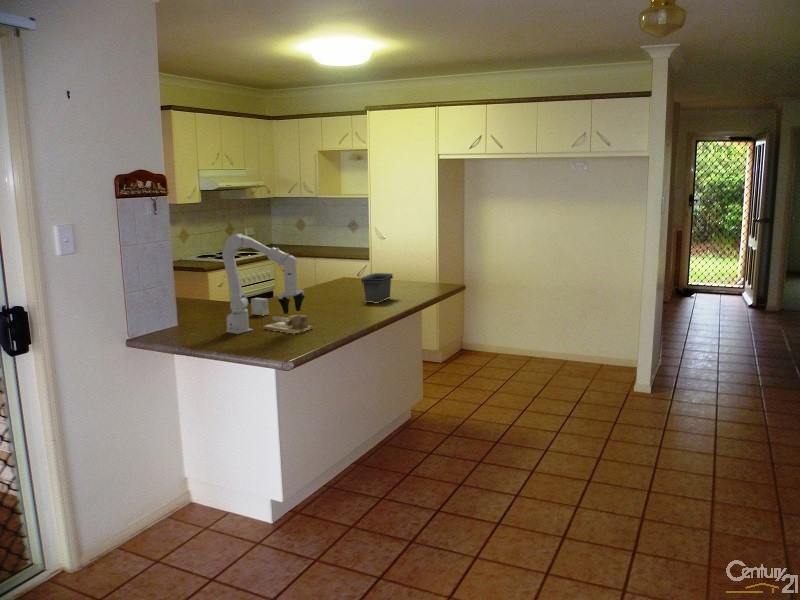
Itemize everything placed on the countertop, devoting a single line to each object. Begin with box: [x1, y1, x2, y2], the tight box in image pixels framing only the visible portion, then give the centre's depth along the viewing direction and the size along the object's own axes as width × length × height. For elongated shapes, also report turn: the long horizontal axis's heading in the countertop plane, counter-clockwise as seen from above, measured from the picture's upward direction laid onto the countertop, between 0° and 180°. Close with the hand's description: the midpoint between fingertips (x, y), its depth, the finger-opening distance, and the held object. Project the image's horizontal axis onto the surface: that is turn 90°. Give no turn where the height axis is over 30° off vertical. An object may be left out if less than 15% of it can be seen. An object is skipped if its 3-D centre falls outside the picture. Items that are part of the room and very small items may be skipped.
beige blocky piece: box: [262, 315, 314, 335], centre depth 308 cm, size 12×20×7 cm, turn 54°
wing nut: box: [285, 314, 302, 328], centre depth 305 cm, size 11×3×5 cm, turn 144°
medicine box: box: [250, 297, 270, 317], centre depth 341 cm, size 8×4×9 cm, turn 59°
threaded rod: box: [271, 315, 289, 322], centre depth 308 cm, size 2×16×2 cm, turn 54°
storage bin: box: [360, 272, 394, 302], centre depth 377 cm, size 21×16×14 cm
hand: (292, 312), depth 305 cm, fingers open, 7 cm apart
